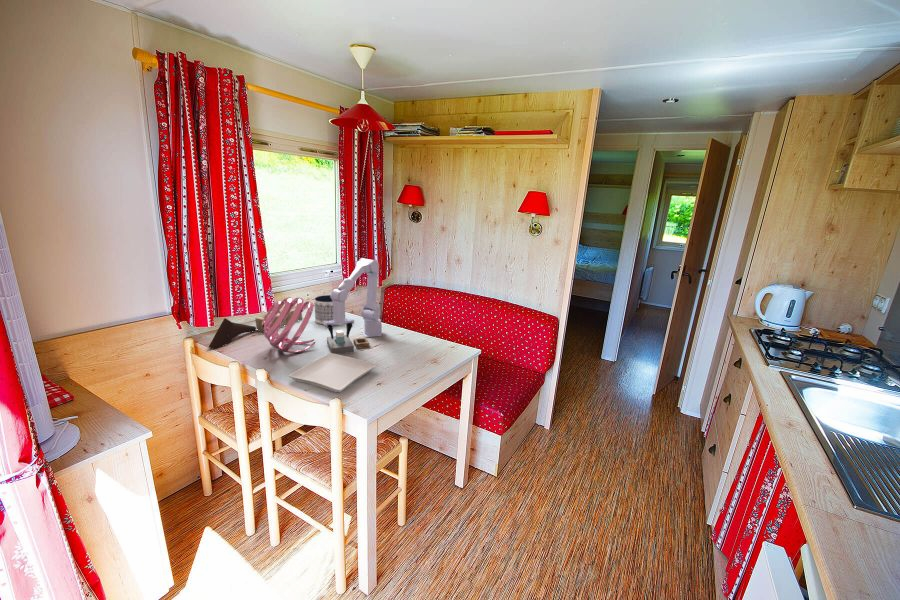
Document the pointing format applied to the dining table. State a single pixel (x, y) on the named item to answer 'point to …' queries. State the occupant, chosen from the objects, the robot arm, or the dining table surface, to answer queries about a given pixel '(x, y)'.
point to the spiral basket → (275, 328)
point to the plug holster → (361, 343)
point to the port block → (340, 345)
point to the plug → (339, 336)
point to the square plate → (333, 372)
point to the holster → (229, 333)
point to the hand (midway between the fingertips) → (339, 337)
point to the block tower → (260, 319)
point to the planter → (323, 309)
